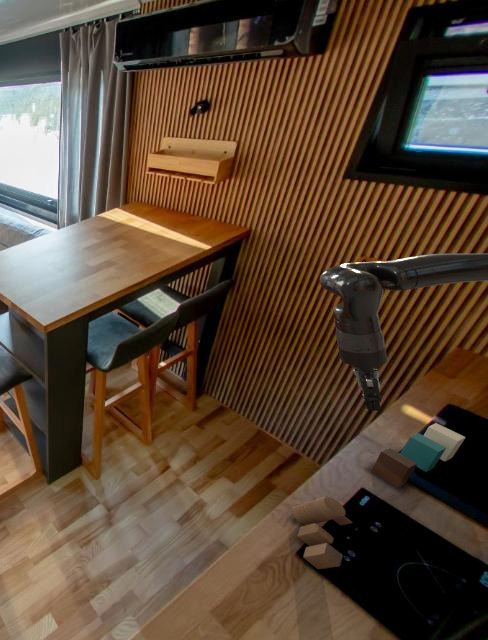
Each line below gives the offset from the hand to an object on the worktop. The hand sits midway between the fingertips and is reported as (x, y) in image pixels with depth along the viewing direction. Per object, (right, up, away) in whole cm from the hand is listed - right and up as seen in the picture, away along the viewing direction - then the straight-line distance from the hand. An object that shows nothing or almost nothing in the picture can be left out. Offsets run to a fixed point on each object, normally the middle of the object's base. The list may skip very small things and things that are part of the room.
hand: (370, 398), depth 89 cm
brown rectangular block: (+12, -23, +6) cm, 27 cm away
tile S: (+22, -20, +8) cm, 31 cm away
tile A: (+29, -18, +9) cm, 35 cm away
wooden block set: (-16, -33, -2) cm, 37 cm away
